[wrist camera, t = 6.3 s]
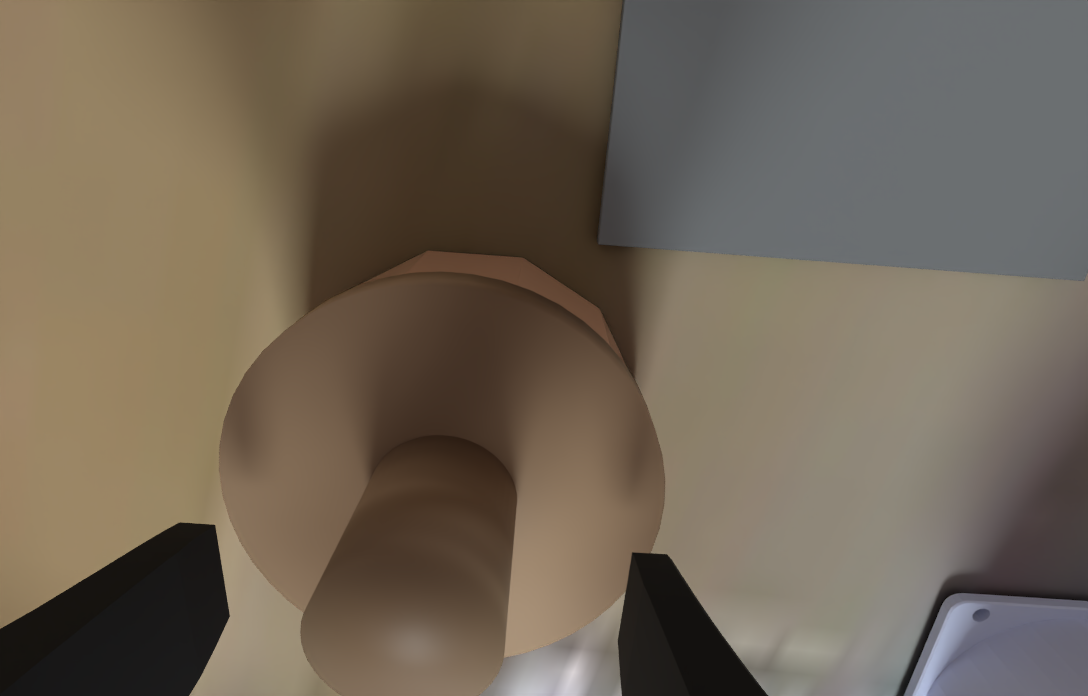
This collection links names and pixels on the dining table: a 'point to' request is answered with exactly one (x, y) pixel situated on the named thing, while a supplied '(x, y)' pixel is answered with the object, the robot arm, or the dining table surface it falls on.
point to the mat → (854, 132)
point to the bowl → (512, 272)
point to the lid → (439, 479)
